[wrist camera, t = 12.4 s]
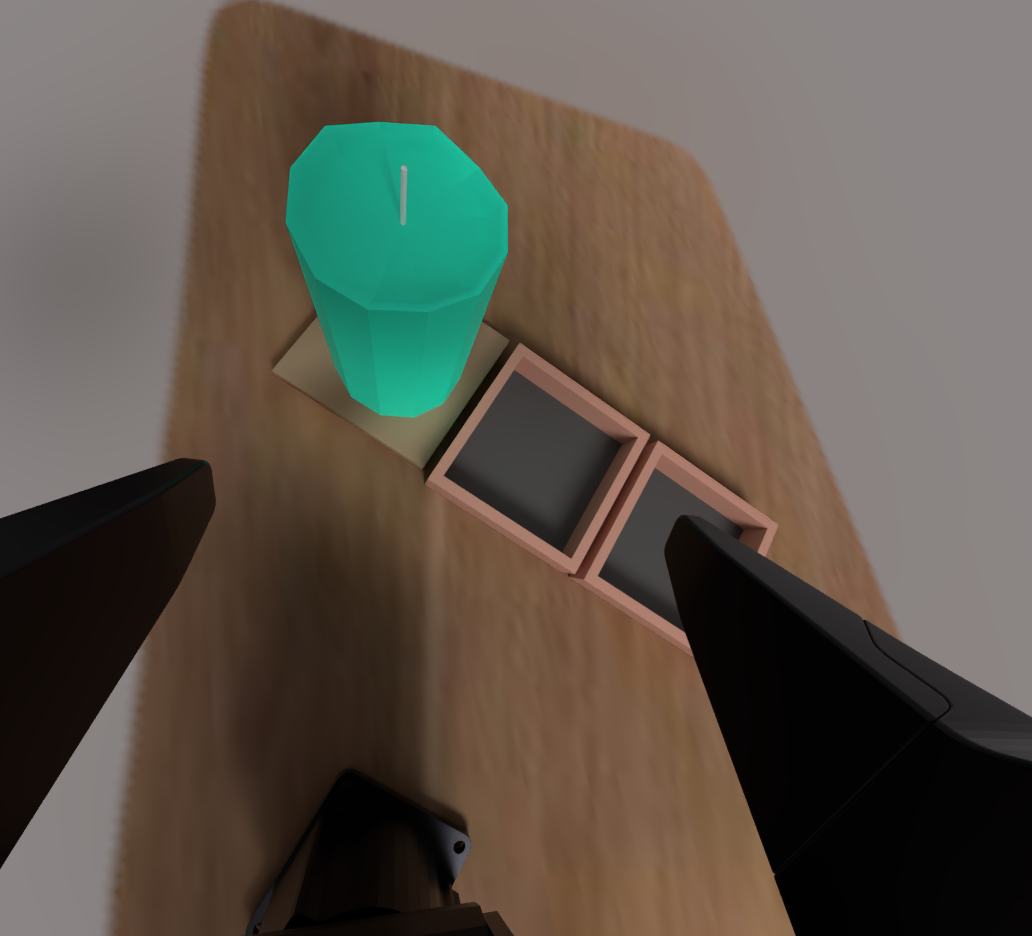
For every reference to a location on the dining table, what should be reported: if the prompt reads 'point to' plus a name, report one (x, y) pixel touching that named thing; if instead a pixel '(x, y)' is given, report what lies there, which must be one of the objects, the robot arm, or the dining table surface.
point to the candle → (396, 257)
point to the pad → (402, 435)
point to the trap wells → (585, 489)
